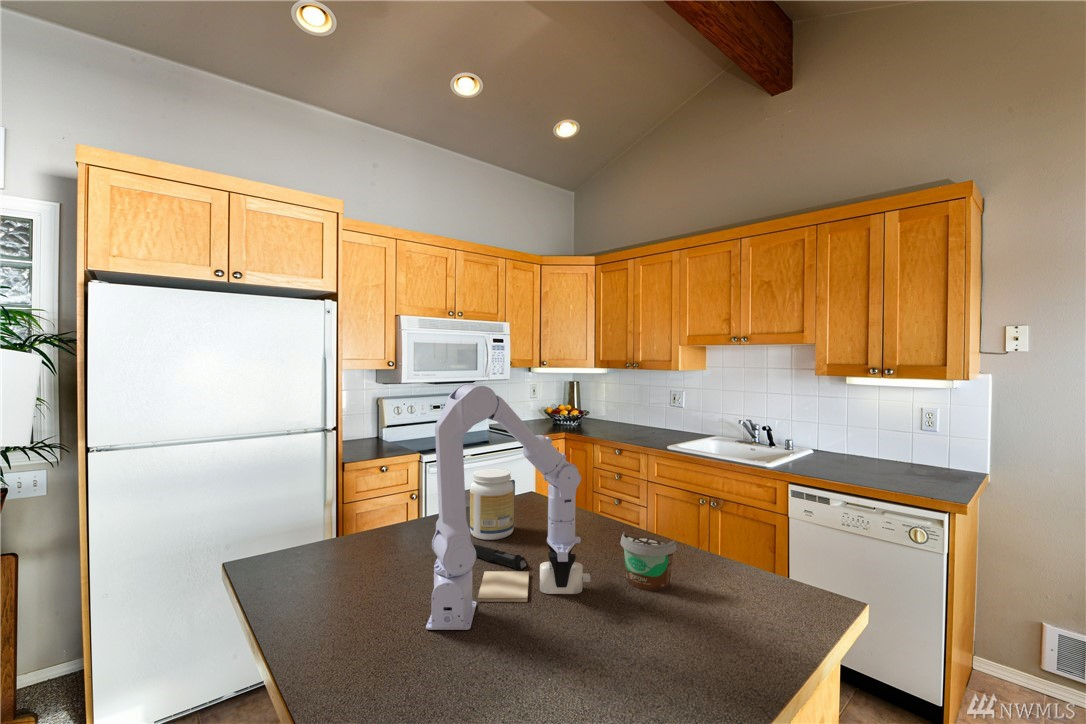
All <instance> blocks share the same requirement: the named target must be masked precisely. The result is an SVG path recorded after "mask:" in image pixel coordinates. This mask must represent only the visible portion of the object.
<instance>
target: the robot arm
mask: <svg viewBox="0 0 1086 724" xmlns="http://www.w3.org/2000/svg"><path fill="white" fill-rule="evenodd" d="M487 419H488V420H491V421H494V422H497V423H498V424H499V425H500V426H501V427H502V428H503V429H504V430H506V432H508V434H509V435H511V436H512V437H513V438H514V439H515V440H516V441H517V442H518V443H520V445H522V454H523V456H524V458H526V459H527V461H528V462H529V463H530V464H532V466H534V468H536V469H537V471H538V472H539V473H541V474H542V476H543V479H544V481H545V482H547V483H548V486H547V487H548V489H547V490H548V491H547V495H548V496H547V501H548V504H547V537H546V543H547V547H548V549H549V550H550V551H548V553H547V555H548V561H549V562H551V564H552V567H553V571H554V576H555V583H556V586H557V587H560V588H566V587H567V584H568V579H569V574H570V570H571V567H572V565H573V563H574V562H576V558H577V556H576V553H572V551H573V548H574V547H575V545H576V544H580V543H582V542H581V537H580V536H576V496H577V488H578V487H579V485H580V483H581V481H582V475H581V474H580V473H579V469H578V467H577V466H576V465H575V464H574V463H570V461H567V459H566V458H567V455H566V454H565V453H563V452H560V451H559V450H558V449H557V448H556V447H555V446H554V445H553V444H552V443H553V442H554V441H553V439H552V438H551V437H549V436H545V435H542V434H538V435H537V434H536V435H535V434H534V432H533V431H532V430H531V429H530V428H529V427H528V426H527V424H526V423H525V422H524V421H523V420H522V419H521V418H520V417H519V415H518V414H517V413H516V412H515V411H514V410H513V408H511V407H510V405H509V404H508V403H507V402H506V401H505V400H504V399H503V398H502V397H501V396H500V395H498V394H496V393H495V391H494V390H493V389H492V388H490V387H488V386H485V385H476V384H473V383H471V382H470V383H469V382H468V383H463V384H460V385H459V386H458V387H456V388H455V389H454V390H453V391H452V392H451V393H450V394H448V397H447V401H446V404H445V405H444V407H443V409H442V411H441V413H440V415H439V417H438V418H437V420H436V423H435V426H434V436H435V437H434V439H435V454H436V455H435V459H436V476H437V477H436V481H437V502H438V503H437V507H438V519H437V521H436V522H435V533H434V535H433V537H432V540H431V549H432V550H433V553H434V554H435V555H436V556H437V558H436V560H435V562H434V565H433V590H432V593H431V611H430V613H431V614H430V615H429V618H428V621H427V623H426V626H425V629H426V630H432V631H433V630H436V631H437V630H440V631H444V630H445V631H449V630H450V631H454V630H455V631H456V630H457V631H458V630H459V631H460V630H461V631H468V630H470V629H471V627H472V623H473V618H474V616H475V611H476V607H477V603H478V601H475V600H473V566H474V565H475V562H476V560H477V556H476V550H475V548H474V546H473V545H474V544H473V543H472V540H471V531H470V526H469V524H468V521H467V512H466V511H467V510H466V509H467V507H466V487H465V485H466V484H465V464H464V463H465V462H464V461H465V460H464V442H463V441H464V439H463V438H464V436H465V435H466V434H467V433H468V432H469V431H470V430H471V429H472V428H473V427H475V425H477V424H479V423H481V422H483V421H485V420H487Z"/></svg>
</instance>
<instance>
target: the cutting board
mask: <svg viewBox="0 0 1086 724" xmlns="http://www.w3.org/2000/svg"><path fill="white" fill-rule="evenodd" d="M529 577H530V571H525V570H523V571H516V570H515V571H512V570H511V571H509V570H508V571H504V570H503V571H499V570H498V571H493V570H491V571H487V570H485V571H484V572H483V576H482V580H481V584H480V587H479V590H478V595H477V603H481V602H483V603H486V602H488V603H489V602H490V603H491V602H492V603H497V602H498V603H499V602H502V603H505V602H506V603H515V602H516V603H527V602H528V597H529V583H530V578H529Z"/></svg>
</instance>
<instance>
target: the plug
mask: <svg viewBox="0 0 1086 724" xmlns="http://www.w3.org/2000/svg"><path fill="white" fill-rule="evenodd" d="M583 567H584V566H583V564H582V563H580V562H577V561H574V563H573V565H572V567H571V570H570V574H569V579H568V584H567V587H566V588H560V587H557V586H556V583H555V576H554V571H553V567H552V564H551V562H550V561H544V562H541V563H540V564H539V591H540V592H541V593H544V594H546V595H547V594H548V595H558V594H559V595H578V594H580V593H582V592H583V583H591V574H590V573H587V572H586V573H583Z"/></svg>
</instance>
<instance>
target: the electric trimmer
mask: <svg viewBox="0 0 1086 724" xmlns="http://www.w3.org/2000/svg"><path fill="white" fill-rule="evenodd" d="M472 545H473V546H474V548H475V550H476V557H478V558H481V559H482V560H484V561H487V562H488V563H498V564H501V565H505V566H507V567H509V568H513V569H515V571H525V570H526V569H528V568H529V564H528V561H527V559H526V558H525V557H524V556H522V555H520V554H512V553H508V552H506V551H501V550H498V549H495V548H490V547H487V546H484V545H483V546H482V545H480V544H475V543H474V544H472Z"/></svg>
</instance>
